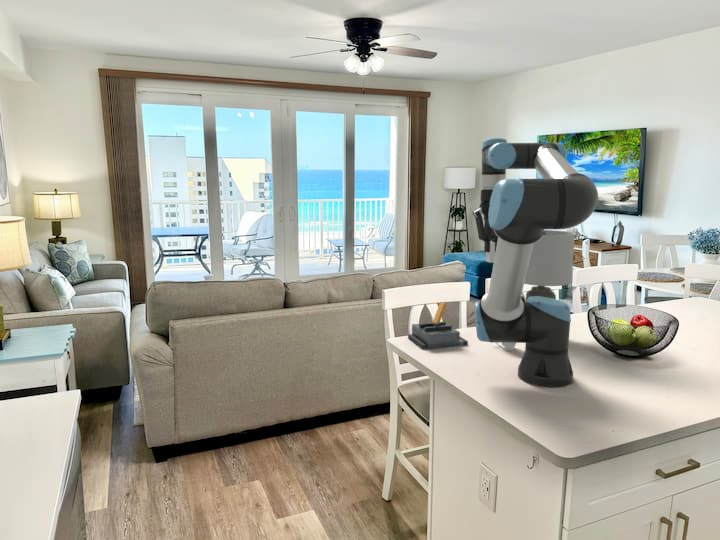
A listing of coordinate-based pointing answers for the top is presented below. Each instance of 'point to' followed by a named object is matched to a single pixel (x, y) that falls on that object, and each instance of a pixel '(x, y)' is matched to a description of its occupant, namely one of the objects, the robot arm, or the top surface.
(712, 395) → the top surface
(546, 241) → the lamp
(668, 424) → the top surface
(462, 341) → the gray slab
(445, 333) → the box
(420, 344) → the dark gray bar
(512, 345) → the cup
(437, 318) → the lever
